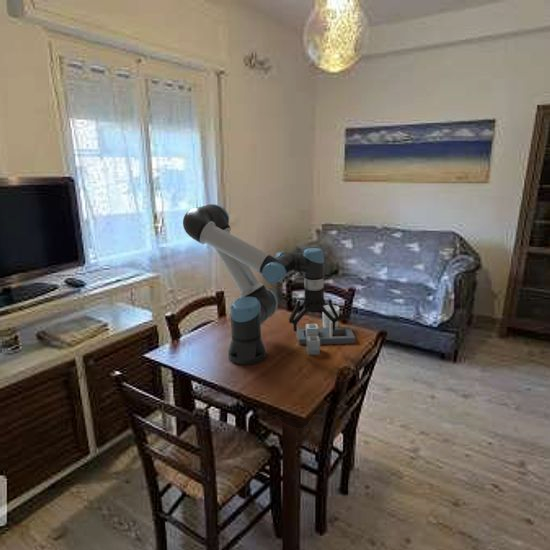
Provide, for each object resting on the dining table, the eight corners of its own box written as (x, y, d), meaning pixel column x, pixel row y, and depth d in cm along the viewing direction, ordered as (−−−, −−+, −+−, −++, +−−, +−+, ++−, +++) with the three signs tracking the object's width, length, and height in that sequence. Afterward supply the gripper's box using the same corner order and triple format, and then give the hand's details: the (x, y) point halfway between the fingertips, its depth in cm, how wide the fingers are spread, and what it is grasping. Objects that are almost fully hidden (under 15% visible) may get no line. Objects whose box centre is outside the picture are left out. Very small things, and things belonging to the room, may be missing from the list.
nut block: (307, 354, 163) (307, 340, 161) (306, 349, 167) (306, 335, 165) (319, 354, 163) (320, 340, 161) (318, 348, 167) (318, 334, 166)
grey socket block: (299, 344, 171) (299, 331, 169) (297, 333, 182) (297, 320, 180) (355, 343, 172) (355, 329, 170) (349, 332, 182) (350, 319, 180)
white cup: (338, 324, 191) (339, 304, 188) (339, 331, 183) (340, 311, 180) (321, 324, 191) (322, 304, 189) (321, 331, 184) (322, 310, 181)
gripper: (282, 292, 153) (284, 342, 159) (347, 289, 154) (346, 340, 160) (281, 286, 160) (283, 334, 166) (343, 283, 161) (343, 332, 167)
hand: (314, 337), depth 163 cm, fingers open, 13 cm apart
